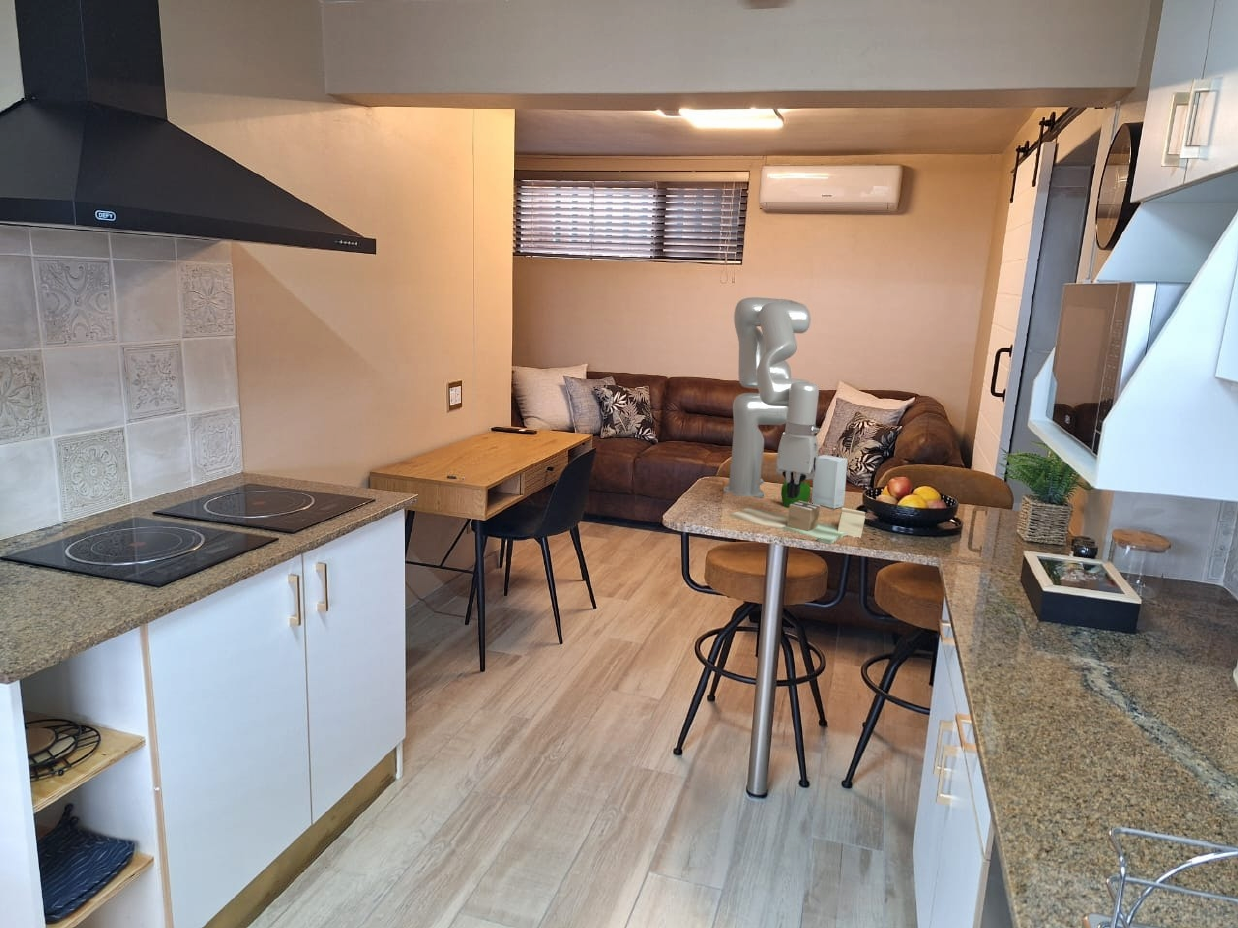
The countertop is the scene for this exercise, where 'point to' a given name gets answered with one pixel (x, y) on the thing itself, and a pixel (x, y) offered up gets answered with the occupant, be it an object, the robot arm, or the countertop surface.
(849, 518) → the beech block
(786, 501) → the bell pepper
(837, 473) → the skincare box
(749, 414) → the robot arm
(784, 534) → the countertop surface
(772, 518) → the board
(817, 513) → the walnut block
